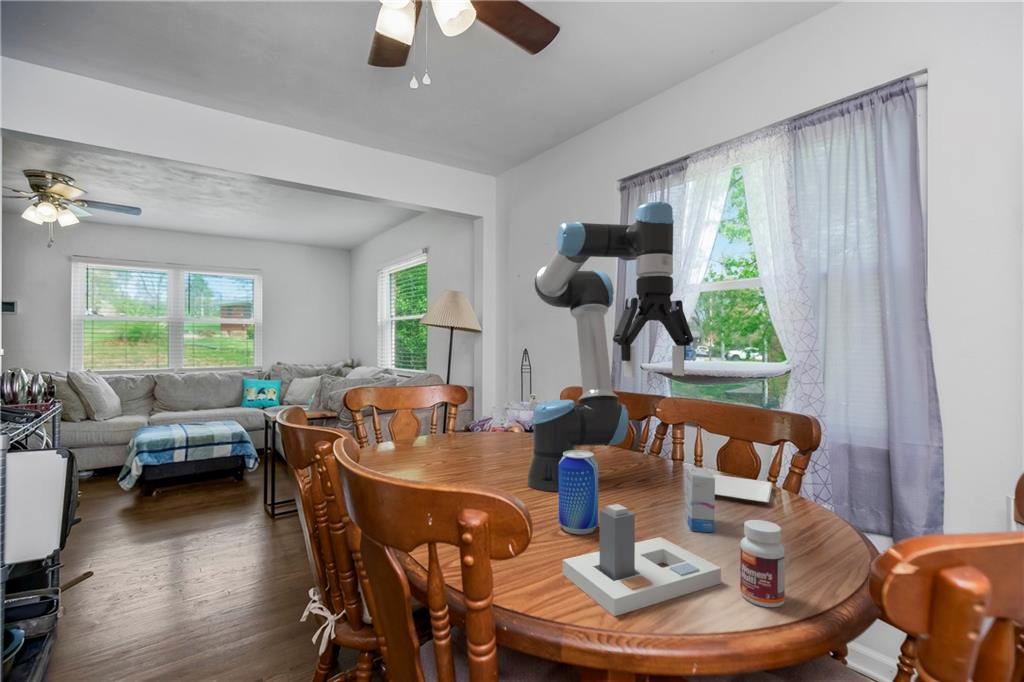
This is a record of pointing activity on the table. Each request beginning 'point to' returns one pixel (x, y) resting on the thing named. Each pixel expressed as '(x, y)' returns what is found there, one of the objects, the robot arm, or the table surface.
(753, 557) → the pill bottle
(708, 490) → the ink box
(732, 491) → the plate
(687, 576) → the socket board
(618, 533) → the plug
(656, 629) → the table surface
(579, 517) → the beer can
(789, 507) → the table surface
